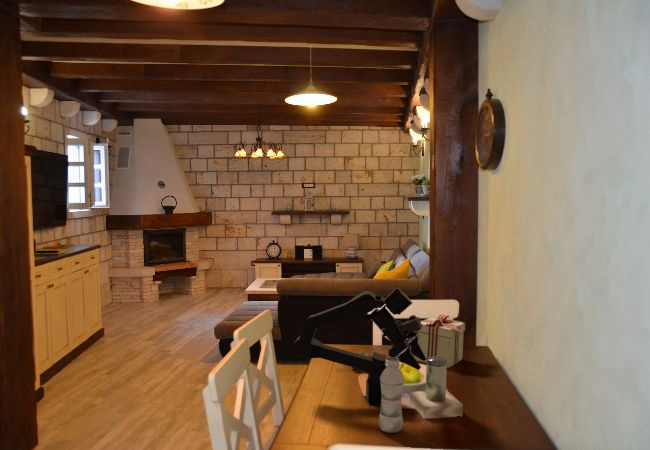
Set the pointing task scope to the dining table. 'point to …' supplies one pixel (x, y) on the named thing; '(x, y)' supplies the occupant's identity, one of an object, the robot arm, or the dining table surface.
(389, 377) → the plastic bottle
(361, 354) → the open flap box
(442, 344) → the gift box
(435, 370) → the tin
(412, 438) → the dining table surface
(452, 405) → the base block
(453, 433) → the dining table surface
